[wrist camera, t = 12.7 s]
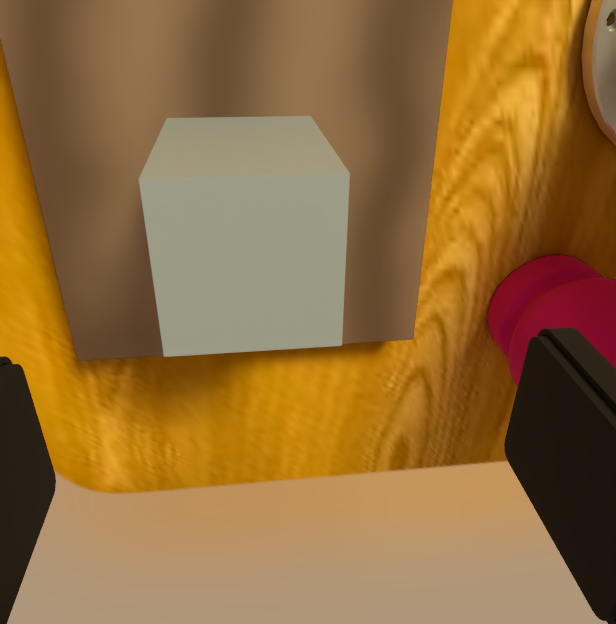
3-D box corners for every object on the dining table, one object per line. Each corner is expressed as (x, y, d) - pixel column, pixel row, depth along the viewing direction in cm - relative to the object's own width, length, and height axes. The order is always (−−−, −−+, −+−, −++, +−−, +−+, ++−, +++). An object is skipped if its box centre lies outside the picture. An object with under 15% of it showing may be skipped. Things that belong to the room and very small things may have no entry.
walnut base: (435, -40, 22) (457, -43, 20) (399, 314, 30) (413, 339, 28) (5, -46, 20) (-22, -50, 18) (88, 332, 28) (77, 361, 26)
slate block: (310, 115, 22) (349, 173, 15) (309, 246, 25) (341, 345, 18) (166, 118, 21) (138, 178, 14) (181, 251, 24) (163, 357, 17)
